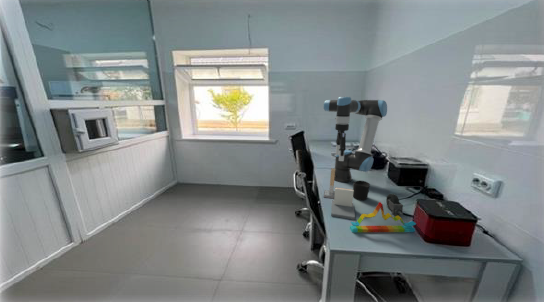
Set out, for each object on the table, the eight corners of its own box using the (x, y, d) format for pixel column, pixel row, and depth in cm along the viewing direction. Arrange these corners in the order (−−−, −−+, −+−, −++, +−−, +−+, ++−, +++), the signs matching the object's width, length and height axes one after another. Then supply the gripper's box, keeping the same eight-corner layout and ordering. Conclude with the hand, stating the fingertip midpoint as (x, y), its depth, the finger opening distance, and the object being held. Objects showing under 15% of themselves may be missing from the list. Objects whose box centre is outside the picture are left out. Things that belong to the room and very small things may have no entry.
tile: (333, 203, 124) (335, 187, 122) (351, 205, 121) (353, 189, 119) (333, 204, 123) (335, 188, 121) (351, 206, 120) (353, 190, 118)
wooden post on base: (325, 190, 143) (327, 166, 139) (337, 192, 141) (339, 167, 137) (324, 195, 136) (326, 170, 132) (337, 197, 134) (339, 171, 129)
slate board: (332, 202, 128) (332, 200, 128) (352, 205, 125) (353, 203, 124) (331, 215, 113) (331, 213, 113) (354, 219, 110) (355, 217, 109)
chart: (409, 228, 103) (415, 200, 100) (414, 232, 100) (420, 204, 97) (349, 228, 103) (352, 201, 99) (352, 232, 99) (355, 204, 96)
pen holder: (369, 201, 130) (371, 186, 127) (353, 200, 132) (355, 185, 129) (365, 195, 139) (367, 181, 136) (351, 193, 141) (352, 179, 138)
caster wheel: (383, 206, 126) (396, 218, 111) (384, 191, 124) (398, 200, 109) (392, 207, 125) (407, 218, 110) (394, 191, 124) (409, 201, 109)
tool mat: (324, 190, 145) (324, 189, 145) (338, 192, 142) (338, 191, 142) (323, 197, 135) (323, 196, 135) (338, 199, 132) (338, 198, 132)
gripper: (333, 121, 137) (331, 152, 142) (338, 126, 113) (335, 163, 118) (345, 121, 135) (342, 152, 141) (353, 126, 112) (349, 164, 117)
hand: (339, 157), depth 129 cm, fingers open, 13 cm apart
